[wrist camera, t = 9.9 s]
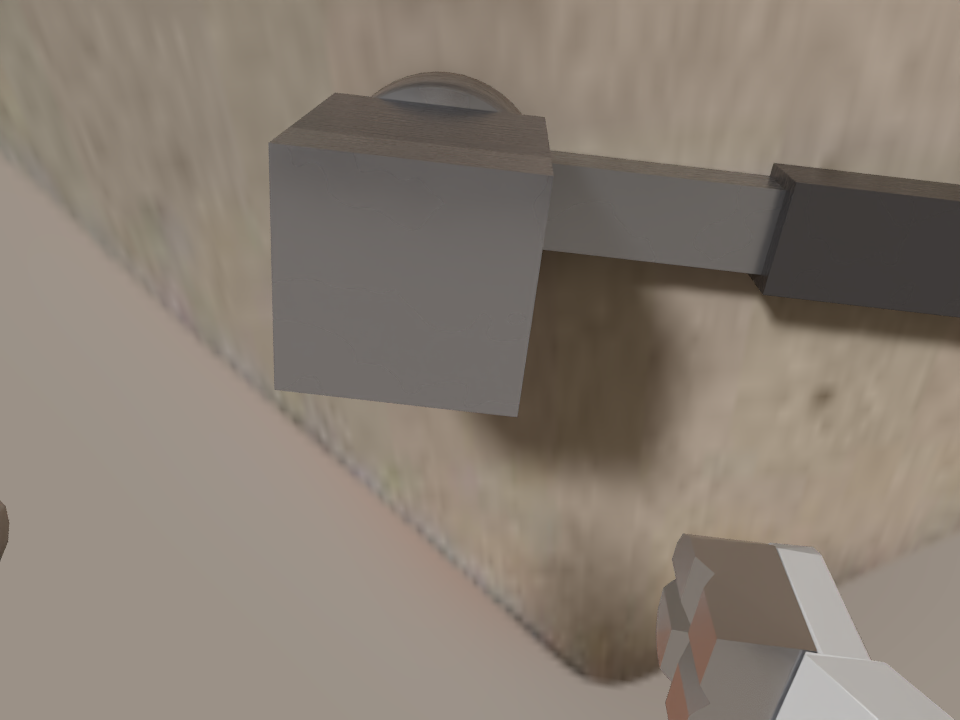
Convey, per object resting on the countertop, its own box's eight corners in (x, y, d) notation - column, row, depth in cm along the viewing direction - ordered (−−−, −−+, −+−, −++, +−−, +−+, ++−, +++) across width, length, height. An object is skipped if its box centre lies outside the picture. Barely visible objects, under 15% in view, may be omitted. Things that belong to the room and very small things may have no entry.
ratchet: (1091, 147, 23) (1304, 220, 17) (999, 340, 26) (1151, 463, 20) (340, 59, 23) (272, 100, 16) (337, 264, 26) (277, 364, 19)
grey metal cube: (544, 117, 20) (553, 176, 15) (518, 309, 23) (517, 417, 17) (335, 92, 20) (268, 142, 15) (332, 287, 23) (274, 389, 17)
